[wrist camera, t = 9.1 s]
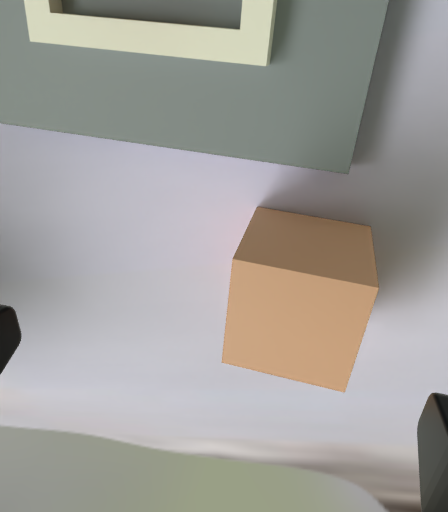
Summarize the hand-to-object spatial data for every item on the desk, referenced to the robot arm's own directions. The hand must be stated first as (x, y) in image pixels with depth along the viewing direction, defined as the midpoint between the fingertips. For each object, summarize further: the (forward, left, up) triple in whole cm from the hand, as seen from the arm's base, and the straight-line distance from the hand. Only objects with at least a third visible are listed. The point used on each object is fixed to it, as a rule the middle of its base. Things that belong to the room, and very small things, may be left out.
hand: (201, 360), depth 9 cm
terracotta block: (-4, -2, -11) cm, 12 cm away
